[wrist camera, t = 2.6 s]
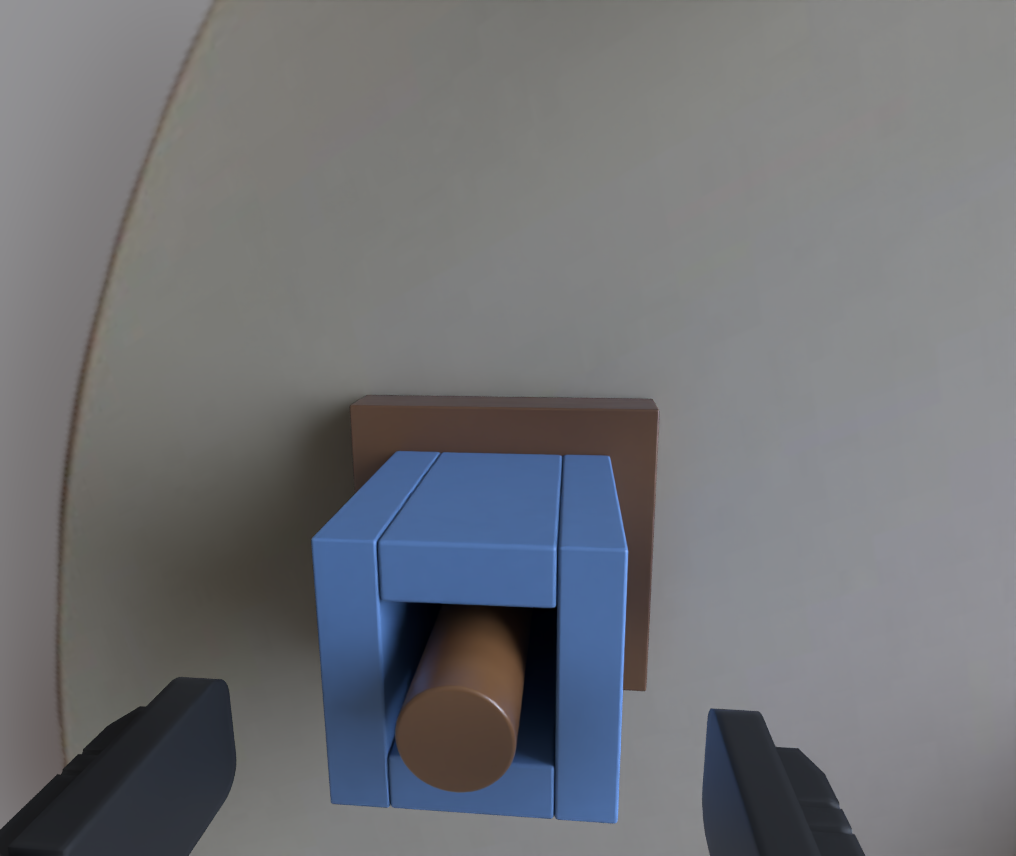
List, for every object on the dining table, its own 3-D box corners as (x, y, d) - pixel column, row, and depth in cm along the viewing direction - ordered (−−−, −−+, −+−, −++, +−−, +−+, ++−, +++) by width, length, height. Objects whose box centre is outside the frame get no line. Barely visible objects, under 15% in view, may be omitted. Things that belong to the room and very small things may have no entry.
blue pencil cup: (395, 450, 18) (309, 538, 12) (610, 454, 17) (628, 549, 11) (403, 641, 19) (329, 805, 13) (604, 651, 19) (618, 825, 13)
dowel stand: (365, 394, 19) (191, 500, 10) (653, 398, 18) (725, 515, 10) (379, 648, 21) (240, 920, 12) (641, 661, 20) (692, 960, 11)
